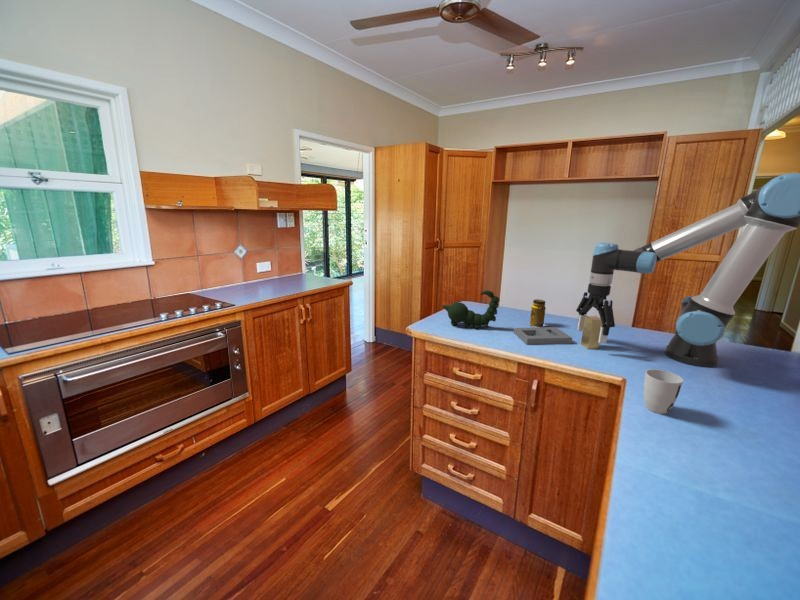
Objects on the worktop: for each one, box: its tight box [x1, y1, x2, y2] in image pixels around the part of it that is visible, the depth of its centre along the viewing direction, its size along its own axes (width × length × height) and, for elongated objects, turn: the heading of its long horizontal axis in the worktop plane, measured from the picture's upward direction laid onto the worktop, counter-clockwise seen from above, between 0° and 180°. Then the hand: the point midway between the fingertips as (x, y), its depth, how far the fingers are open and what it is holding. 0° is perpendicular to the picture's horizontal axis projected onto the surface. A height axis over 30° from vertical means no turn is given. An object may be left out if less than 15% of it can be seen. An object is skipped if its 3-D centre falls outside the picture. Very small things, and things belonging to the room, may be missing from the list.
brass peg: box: [580, 315, 603, 350], centre depth 137 cm, size 4×4×12 cm
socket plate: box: [513, 326, 573, 345], centre depth 147 cm, size 13×19×2 cm
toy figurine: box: [441, 289, 500, 330], centre depth 158 cm, size 9×19×25 cm
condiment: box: [529, 298, 551, 328], centre depth 162 cm, size 7×8×12 cm
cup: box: [643, 368, 684, 415], centre depth 94 cm, size 8×8×10 cm
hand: (591, 336), depth 138 cm, fingers open, 13 cm apart
